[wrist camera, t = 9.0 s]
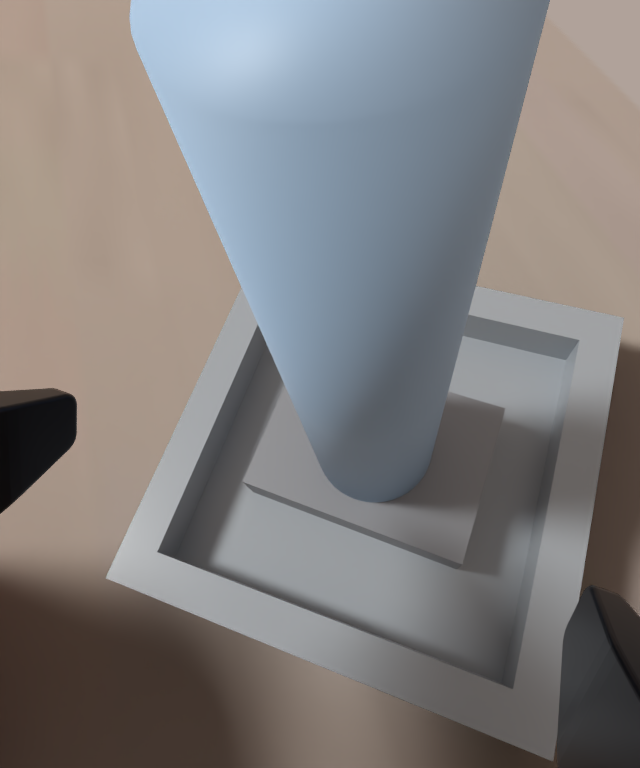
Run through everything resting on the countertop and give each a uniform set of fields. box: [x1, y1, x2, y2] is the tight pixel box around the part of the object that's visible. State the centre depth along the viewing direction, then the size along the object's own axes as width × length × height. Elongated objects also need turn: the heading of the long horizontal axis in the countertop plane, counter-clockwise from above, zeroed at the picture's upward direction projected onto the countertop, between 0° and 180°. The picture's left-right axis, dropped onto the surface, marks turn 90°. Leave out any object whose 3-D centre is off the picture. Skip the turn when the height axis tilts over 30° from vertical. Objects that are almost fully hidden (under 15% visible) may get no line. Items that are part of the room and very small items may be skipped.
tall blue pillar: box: [130, 0, 550, 569], centre depth 11 cm, size 7×5×15 cm
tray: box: [106, 286, 624, 761], centre depth 18 cm, size 13×13×2 cm
